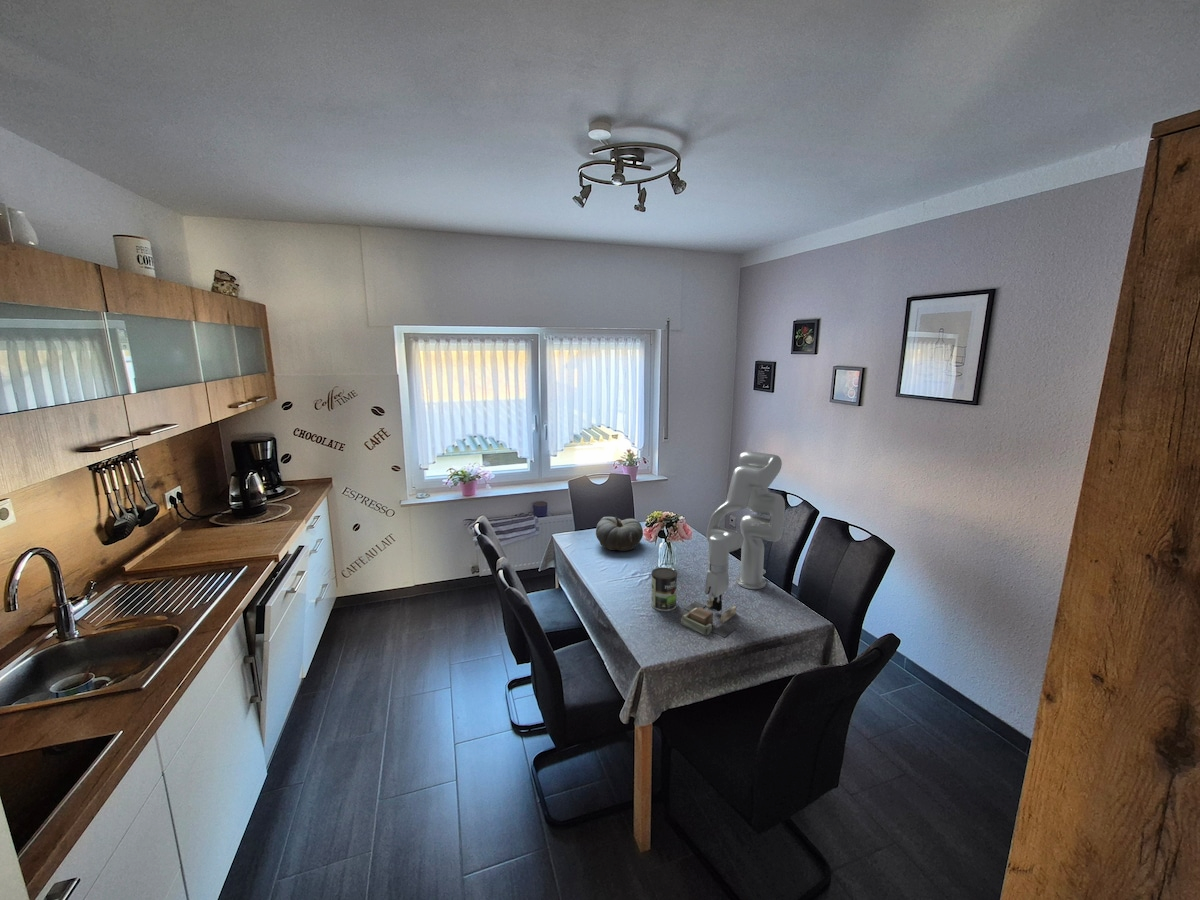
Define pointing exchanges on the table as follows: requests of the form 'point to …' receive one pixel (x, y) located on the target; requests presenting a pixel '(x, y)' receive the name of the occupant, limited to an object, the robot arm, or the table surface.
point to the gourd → (619, 533)
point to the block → (702, 616)
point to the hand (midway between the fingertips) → (717, 609)
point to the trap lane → (721, 630)
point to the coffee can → (664, 589)
